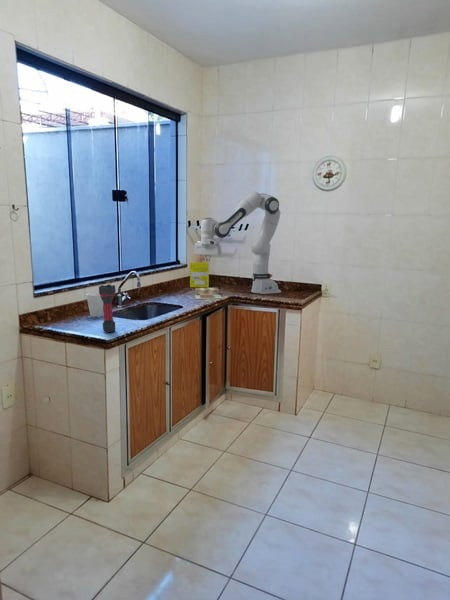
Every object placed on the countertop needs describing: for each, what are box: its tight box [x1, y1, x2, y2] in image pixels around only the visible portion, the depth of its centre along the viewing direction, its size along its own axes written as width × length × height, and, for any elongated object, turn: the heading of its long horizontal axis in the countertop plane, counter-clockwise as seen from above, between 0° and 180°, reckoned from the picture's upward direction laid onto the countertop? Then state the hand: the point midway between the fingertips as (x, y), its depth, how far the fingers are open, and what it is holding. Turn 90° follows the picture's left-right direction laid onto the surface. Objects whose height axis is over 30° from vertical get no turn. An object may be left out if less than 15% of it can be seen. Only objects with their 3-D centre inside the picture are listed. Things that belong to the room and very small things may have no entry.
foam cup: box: [85, 292, 104, 317], centre depth 231 cm, size 10×9×13 cm
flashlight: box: [98, 284, 116, 333], centre depth 198 cm, size 8×8×23 cm
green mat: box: [194, 294, 223, 300], centre depth 290 cm, size 18×13×1 cm
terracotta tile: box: [200, 293, 213, 298], centre depth 288 cm, size 9×6×2 cm, turn 93°
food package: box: [189, 262, 210, 288], centre depth 332 cm, size 15×1×20 cm, turn 84°
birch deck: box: [194, 287, 220, 295], centre depth 301 cm, size 16×10×4 cm, turn 98°
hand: (207, 261), depth 288 cm, fingers closed
